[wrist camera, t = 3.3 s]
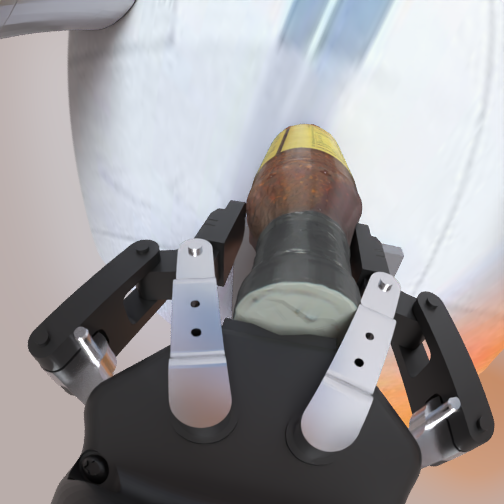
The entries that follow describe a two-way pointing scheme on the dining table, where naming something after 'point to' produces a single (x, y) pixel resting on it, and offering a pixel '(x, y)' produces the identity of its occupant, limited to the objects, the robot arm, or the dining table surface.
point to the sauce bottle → (301, 238)
